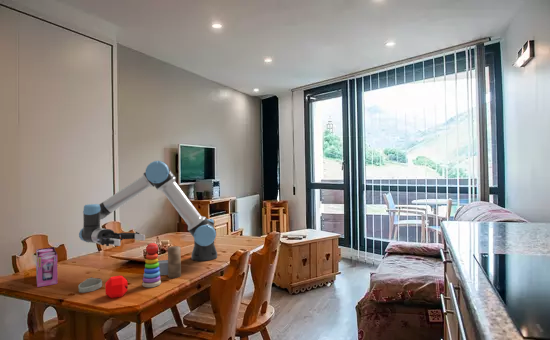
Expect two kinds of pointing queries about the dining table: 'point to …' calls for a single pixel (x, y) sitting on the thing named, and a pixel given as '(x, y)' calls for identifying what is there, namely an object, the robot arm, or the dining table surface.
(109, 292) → the ball
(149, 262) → the stacking toy
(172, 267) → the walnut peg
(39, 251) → the gum box
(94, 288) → the grey oval piece
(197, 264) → the dining table surface
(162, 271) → the grey cube
